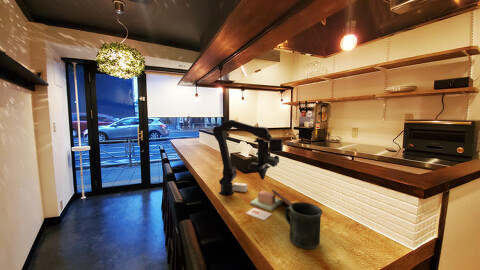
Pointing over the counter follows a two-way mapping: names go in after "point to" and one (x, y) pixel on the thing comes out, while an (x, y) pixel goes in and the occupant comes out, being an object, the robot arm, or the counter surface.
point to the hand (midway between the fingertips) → (262, 179)
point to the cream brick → (240, 187)
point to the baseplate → (266, 204)
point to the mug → (304, 224)
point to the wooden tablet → (282, 198)
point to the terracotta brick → (266, 197)
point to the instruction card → (258, 213)
